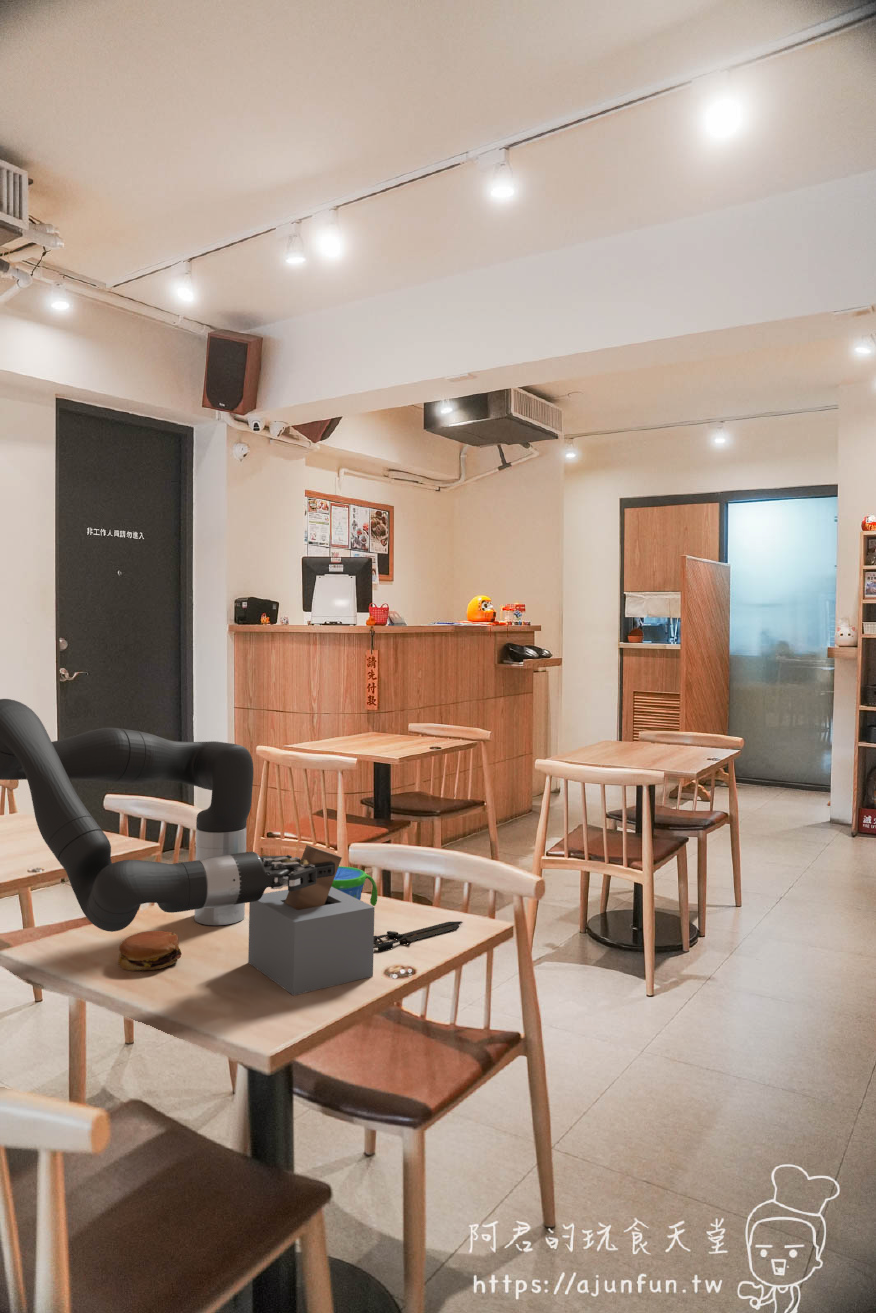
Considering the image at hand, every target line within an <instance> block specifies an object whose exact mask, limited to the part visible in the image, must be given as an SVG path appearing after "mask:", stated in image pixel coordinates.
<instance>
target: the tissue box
mask: <svg viewBox="0 0 876 1313" xmlns="http://www.w3.org/2000/svg"><path fill="white" fill-rule="evenodd" d="M288 892H289V891H288V889H284V890H277V891H270V892H264V893H263V896H262V897H261V898H260V899H259V900H258V901H254V902H248V904H249V907H248V908H249V911H248V912H249V914H248V916H249V917H248V918H249V919H248V954H247V955H248V959H247V960H248V961H247V962H248V964H250V965H251V966H252V967H253V968H255V969H256V970H258V971H260V972H261V973H262V974H264V975H265V976H266V977H267V978H269V979H270V980H271V981H273V982H274V983H276V984H277V985H278V986H280V987H281V988H283V989H284V990H285V991H286V992H287V993H289V994H290V995H292V996H296V995H301V994H305V993H308V992H313V991H316V990H317V991H318V990H321V989H325V988H328V987H329V988H330V987H335V986H337V985H342V984H346V983H350V982H355V981H359V980H363V979H368V978H371V977H370V976H372V977H374V950H375V948H374V946H375V945H374V936H375V906H373V905H371V904H368V903H366V902H364V901H362V900H361V899H360V900H358V899H356V898H354V897H352V896H350V895H348V894H346V893H344V892H342V891H340V890H338V889H335V888H333V887H331V888H330V891H329V894H328V897H327V899H326V902H325V905H323V906H318V907H312V908H307V909H301V910H296V909H294V908H293V907H291V906H289V905H287V904H285V900H286V898H287V895H288Z"/></svg>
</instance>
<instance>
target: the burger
mask: <svg viewBox="0 0 876 1313" xmlns="http://www.w3.org/2000/svg"><path fill="white" fill-rule="evenodd" d="M179 941H180V940H179V937H178V934H176V933H174V932H170V931H165V930H163V931H161V930H150V931H142V932H138V933H135V934H131V935H129V936H128V937H126V938H125V939H124V940H123V941H122V942H121V943H120V945H119V947H118V948H119V949H118V950H119V954H118V956H119V957H118V965H119V966H120V968H121V969H122V970H124V969H126V970H125V971H129V970H142V971H155V970H160V969H164V968H167V967H168V966H169V967H170V966H173V965H174V964H176V963H178V960H179V959H180V958H181V957H182V951H181V948H180V947H179Z"/></svg>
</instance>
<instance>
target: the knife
mask: <svg viewBox="0 0 876 1313" xmlns="http://www.w3.org/2000/svg"><path fill="white" fill-rule="evenodd" d="M463 923H464V921H462V920H461V921H459V920H457V921H446V922H442V923H438V924H434V925H431V926H427V927H423V928H419V929H416V930H412V931H408V932H405V933H399V932H397V931H394V930H393V931H391V930H390V931H389V930H387V931H386V934H379V935H374V949H377V953H383V952H386V951H389V950H388V949H390V950H392V949H391V948H393V949H394V944H396V943H400V944H399V945H403V944H407V943H409V945H410V944H412V942H413V941H417V939H418V940H421V939H424V938H425V939H426V938H428V937H431V936H432V937H433V936H435V934H436V935H439V934H443V933H446V932H449V931H454V930H457V928H459V926H460V924H463ZM453 929H454V930H453ZM383 938H388V940H389V939H393V940H389V941H384V940H383ZM394 938H395V939H394ZM396 939H397V940H396ZM378 941H379V942H380V944H379V942H378Z"/></svg>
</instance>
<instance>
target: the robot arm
mask: <svg viewBox="0 0 876 1313" xmlns="http://www.w3.org/2000/svg"><path fill="white" fill-rule="evenodd" d="M47 731H48V730H47V729H46V727H45V725H44V723H43V722H42V721H41V719H40V717H39V716H38V715H37V713H36V712H35V711H33V709H32V708H30V707H28V705H26V704H24V703H22V702H20V701H18V700H15V699H10V698H0V780H1V781H4V780H5V781H15V780H16V781H19V780H20V781H21V780H22V781H23V780H27V783H28V787H29V791H30V797H31V801H32V807H33V812H34V818H35V821H36V825H37V828H38V830H39V833H40V835H41V838H42V839H43V840H44V843H45V844H46V845H47V847H48V848H49V849H50V852H52V854H53V856H54V857H55V858H56V859H57V862H58V863H59V864H60V865H61V866H62V869H64V870H65V872H66V875H67V877H68V880H69V883H70V886H71V889H72V891H73V894H74V896H75V899H76V900H77V902H78V905H79V907H80V909H81V911H82V913H83V914H84V916H85V918H87V920H88V921H89V922H90V924H92V925H93V926H95V927H96V928H98V929H100V930H102V931H105V932H109V933H110V932H111V933H112V932H113V933H114V932H119V931H121V930H124V929H126V928H127V927H129V925H130V924H131V923H132V922H133V921H134V920H135V918H136V917H137V914H138V912H139V909H140V907H141V905H143V904H151V903H153V904H155V903H156V904H157V906H158V907H159V909H160V910H161V911H163V912H165V913H171V914H173V913H181V912H187V911H194V917H193V918H194V921H195V922H196V923H199V924H202V925H206V926H224V925H231V924H235V923H238V922H241V921H242V920H243V919H245V915H246V914H245V913H246V912H245V910H246V908H245V907H246V906H245V905H246V904H247V903H248V904H249V903H250V902H254V901H258V900H259V899H260V898H261V897H262V896H263V893H265V891H266V889H267V888H270V889H271V890H280V889H282V888H284V887H286V888H287V890H288V891H291V892H293V891H296V890H299V889H302V888H305V887H308V886H311V885H314V884H316V878H322V877H328V876H333V875H334V874H335V863H334V862H331V861H330V862H323V863H316V864H304V865H300V864H299V862H300V861H301V857H298V856H295V857H293V856H292V855H290V854H287V855H265V856H264V855H263V856H260V855H259V854H258V853H257V852H255V851H247V826H248V824H247V823H248V822H247V821H248V817H249V814H250V813H251V808H252V798H253V787H254V786H253V785H254V761H253V758H252V757H253V756H252V755H251V752H250V751H249V750H248V749H247V748H246V747H245V746H244V745H240V744H237V743H230V742H223V741H214V740H213V741H212V740H211V741H179V740H178V741H177V740H175V741H174V740H171V739H167V738H164V737H160V736H157V735H155V734H152V733H148V732H144V731H139V730H133V729H126V728H120V727H119V728H117V727H101V728H97V729H92V730H89V731H85V732H82V733H79V734H76V735H73V736H69V737H66V738H63V739H59V740H55V741H54V740H53V741H52V740H51V738H50V736H49V733H48V732H47ZM71 780H77V781H79V780H80V781H91V782H92V781H93V782H103V783H111V784H112V783H113V784H123V785H142V784H151V783H156V782H162V781H163V782H164V781H166V782H175V783H180V784H185V785H189V786H193V787H197V788H201V789H204V790H208V791H211V799H210V805H209V807H208V808H206V809H203V810H201V811H199V812H198V813H197V815H196V819H195V821H196V826H195V827H196V829H195V830H196V831H195V832H196V834H195V860H190V861H189V860H188V861H182V862H175V863H165V862H159V861H152V860H143V859H142V860H141V859H140V860H139V859H123V860H118V861H116V862H112V857H111V855H112V845H111V843H110V842H111V841H110V840H109V838H108V836H107V835H106V833H105V832H104V831H103V829H102V828H101V827H100V825H99V824H98V823H97V820H95V819H94V817H93V816H92V814H91V813H90V811H89V810H88V809H87V808H86V805H85V804H84V802H82V800H81V798H80V796H79V795H78V794H77V791H76V790H75V788H74V785H73V784H72V782H71ZM302 869H303V870H302Z"/></svg>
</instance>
